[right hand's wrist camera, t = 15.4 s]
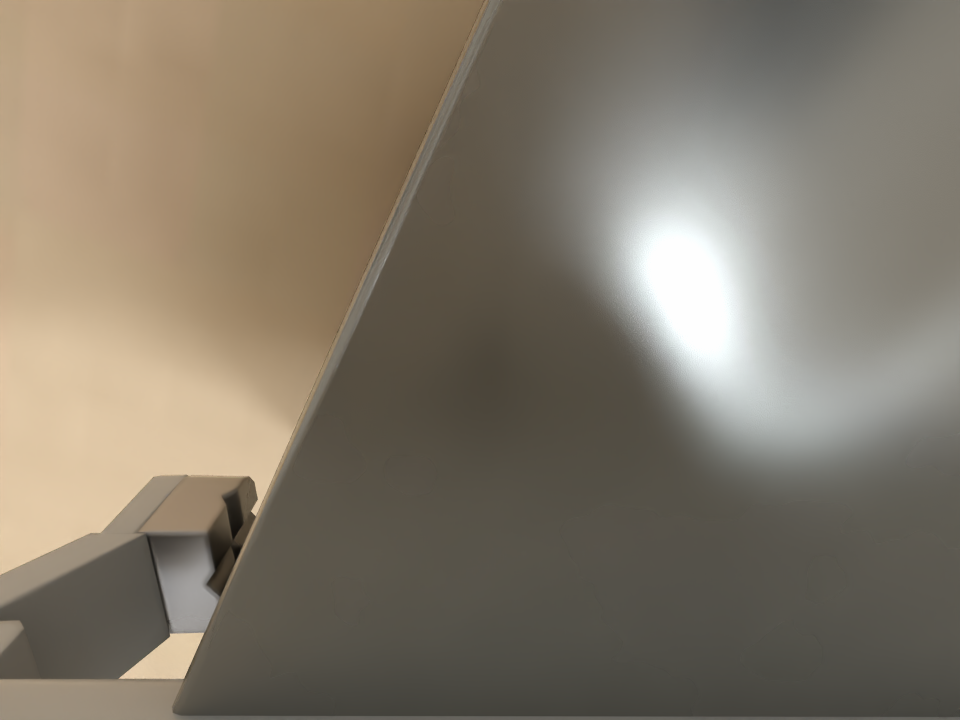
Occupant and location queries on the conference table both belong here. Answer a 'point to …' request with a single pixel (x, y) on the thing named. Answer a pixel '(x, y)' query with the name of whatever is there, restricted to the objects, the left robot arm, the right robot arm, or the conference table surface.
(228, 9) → the conference table surface
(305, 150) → the conference table surface
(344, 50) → the conference table surface
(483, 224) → the box
